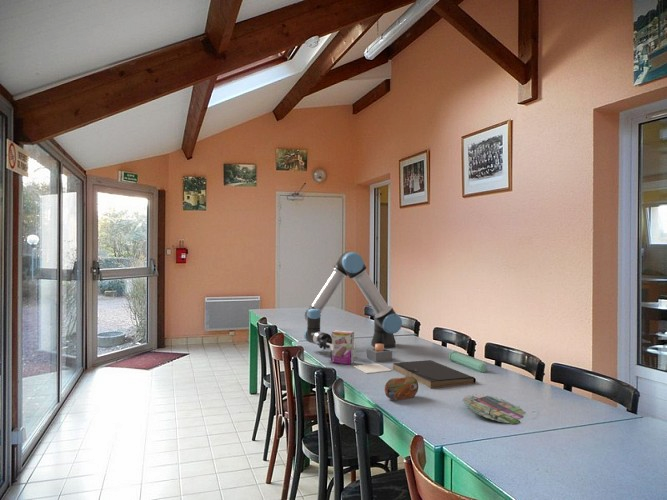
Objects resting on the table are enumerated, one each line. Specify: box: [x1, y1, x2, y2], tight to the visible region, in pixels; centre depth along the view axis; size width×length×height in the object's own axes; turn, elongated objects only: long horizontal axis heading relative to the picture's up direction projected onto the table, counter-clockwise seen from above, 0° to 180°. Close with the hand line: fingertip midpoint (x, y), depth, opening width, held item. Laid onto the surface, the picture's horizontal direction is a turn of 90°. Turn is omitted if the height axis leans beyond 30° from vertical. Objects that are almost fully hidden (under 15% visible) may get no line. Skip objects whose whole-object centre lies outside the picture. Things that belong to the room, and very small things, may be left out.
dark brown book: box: [392, 359, 477, 389], centre depth 216 cm, size 33×4×24 cm
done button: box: [374, 344, 384, 352], centre depth 248 cm, size 5×5×5 cm
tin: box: [384, 375, 419, 402], centre depth 183 cm, size 15×3×8 cm, turn 117°
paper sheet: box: [353, 362, 393, 375], centre depth 228 cm, size 14×14×1 cm
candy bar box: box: [330, 329, 355, 365], centre depth 239 cm, size 11×5×16 cm, turn 71°
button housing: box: [366, 347, 393, 363], centre depth 248 cm, size 10×10×5 cm
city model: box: [461, 394, 526, 425], centre depth 168 cm, size 25×23×6 cm
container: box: [448, 350, 488, 373], centre depth 234 cm, size 6×6×25 cm
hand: (344, 346), depth 237 cm, fingers open, 13 cm apart
